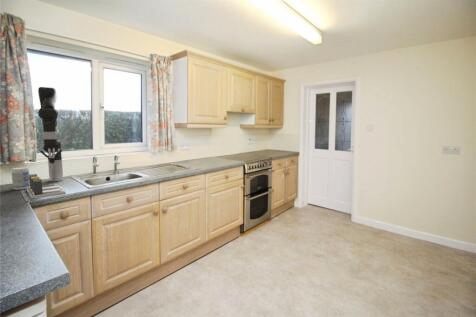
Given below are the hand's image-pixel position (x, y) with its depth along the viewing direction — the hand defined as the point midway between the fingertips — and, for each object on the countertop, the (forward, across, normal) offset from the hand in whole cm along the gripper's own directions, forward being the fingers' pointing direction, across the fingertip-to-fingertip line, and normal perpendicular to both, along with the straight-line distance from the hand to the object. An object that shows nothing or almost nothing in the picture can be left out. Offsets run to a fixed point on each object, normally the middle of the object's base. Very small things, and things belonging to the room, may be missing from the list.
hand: (52, 163), depth 176 cm
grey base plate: (+19, +5, 0) cm, 20 cm away
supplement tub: (+20, +16, -22) cm, 33 cm away
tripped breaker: (+17, +10, 0) cm, 20 cm away
